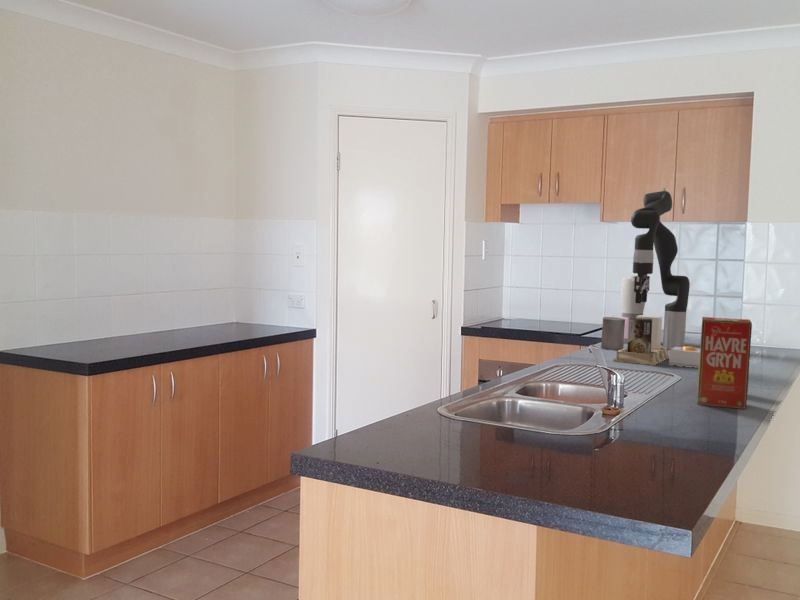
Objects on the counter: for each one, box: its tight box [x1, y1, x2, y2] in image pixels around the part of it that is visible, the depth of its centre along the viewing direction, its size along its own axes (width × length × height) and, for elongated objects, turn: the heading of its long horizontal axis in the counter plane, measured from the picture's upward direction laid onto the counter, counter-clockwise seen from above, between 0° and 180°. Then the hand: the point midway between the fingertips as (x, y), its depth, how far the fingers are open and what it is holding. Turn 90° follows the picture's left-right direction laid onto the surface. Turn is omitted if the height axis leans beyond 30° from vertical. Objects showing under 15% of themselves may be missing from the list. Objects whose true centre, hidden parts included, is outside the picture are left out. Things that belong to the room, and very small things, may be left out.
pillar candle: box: [600, 316, 625, 351], centre depth 335 cm, size 10×10×15 cm
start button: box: [682, 345, 697, 351], centre depth 294 cm, size 5×5×5 cm
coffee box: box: [626, 318, 652, 354], centre depth 299 cm, size 9×6×16 cm
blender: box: [620, 274, 646, 345], centre depth 361 cm, size 16×12×32 cm
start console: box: [668, 347, 700, 369], centre depth 294 cm, size 12×12×6 cm
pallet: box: [613, 346, 669, 366], centre depth 306 cm, size 27×16×4 cm, turn 149°
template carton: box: [636, 314, 663, 350], centre depth 311 cm, size 6×9×16 cm, turn 59°
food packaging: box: [696, 316, 753, 410], centre depth 219 cm, size 13×9×25 cm
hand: (641, 302), depth 298 cm, fingers open, 8 cm apart
